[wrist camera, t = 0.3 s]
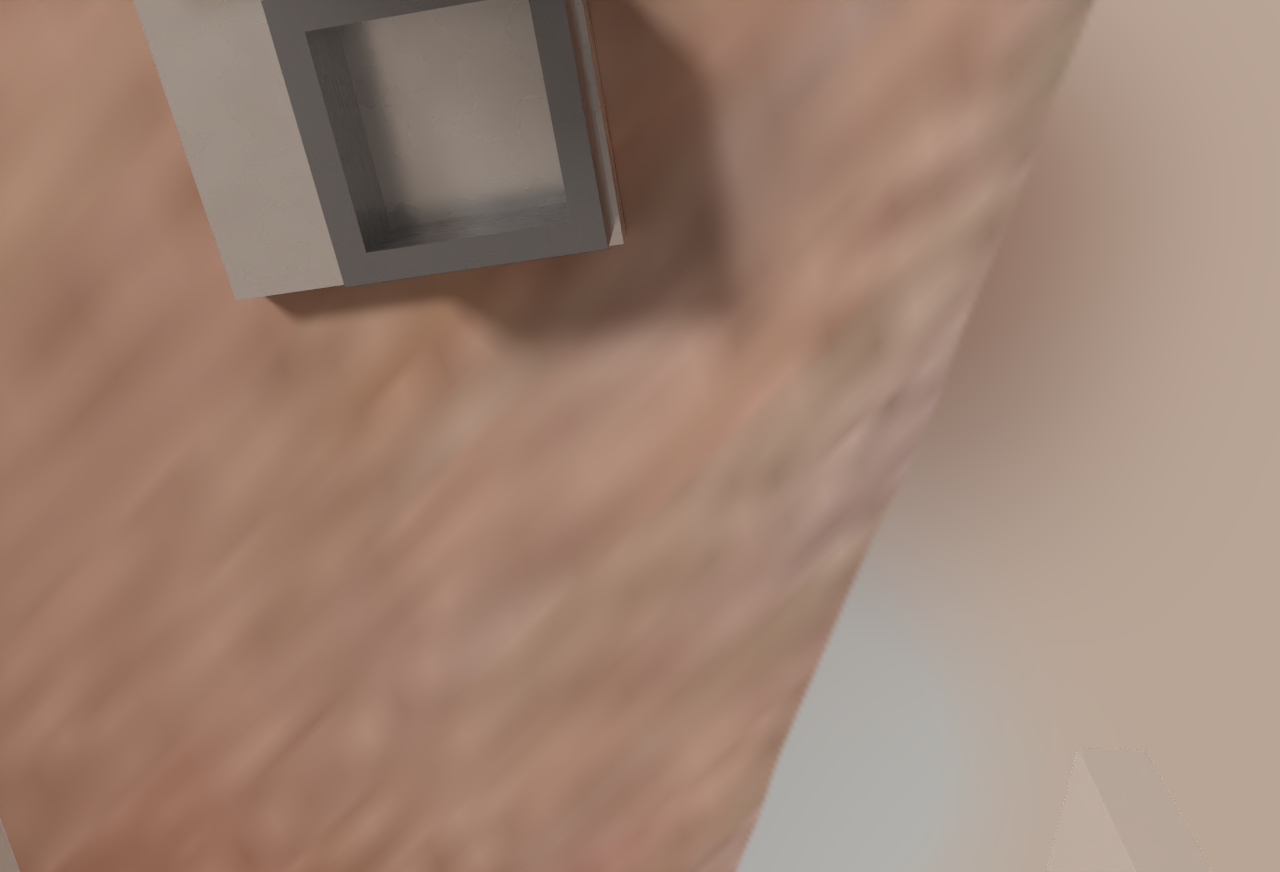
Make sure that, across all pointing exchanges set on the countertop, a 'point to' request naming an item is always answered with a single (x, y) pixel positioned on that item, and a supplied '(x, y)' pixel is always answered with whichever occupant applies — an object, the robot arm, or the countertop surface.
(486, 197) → the dock
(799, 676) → the countertop surface
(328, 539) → the countertop surface
